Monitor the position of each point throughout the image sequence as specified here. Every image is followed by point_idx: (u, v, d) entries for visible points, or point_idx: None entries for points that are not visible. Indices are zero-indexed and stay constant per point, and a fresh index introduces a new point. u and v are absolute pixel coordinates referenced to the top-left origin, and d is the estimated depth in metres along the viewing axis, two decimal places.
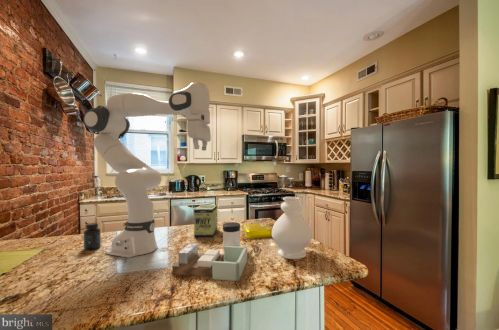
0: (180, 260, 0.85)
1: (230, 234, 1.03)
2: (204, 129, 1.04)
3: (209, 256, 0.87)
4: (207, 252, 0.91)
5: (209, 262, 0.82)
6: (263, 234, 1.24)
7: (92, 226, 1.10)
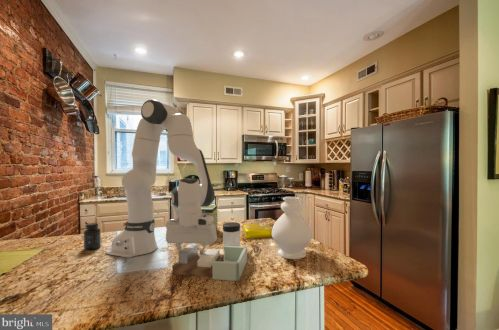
0: (180, 260, 0.85)
1: (230, 234, 1.03)
2: None
3: (209, 256, 0.87)
4: (207, 252, 0.90)
5: (209, 262, 0.82)
6: (262, 234, 1.24)
7: (92, 226, 1.10)
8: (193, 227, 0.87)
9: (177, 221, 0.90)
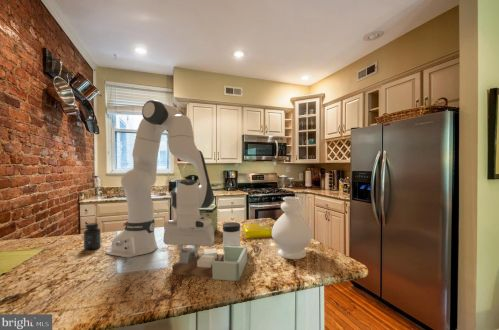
0: (181, 260, 0.85)
1: (230, 234, 1.03)
2: None
3: (209, 256, 0.86)
4: (206, 252, 0.91)
5: (208, 262, 0.82)
6: (262, 234, 1.24)
7: (92, 226, 1.10)
8: (191, 229, 0.87)
9: (175, 222, 0.90)
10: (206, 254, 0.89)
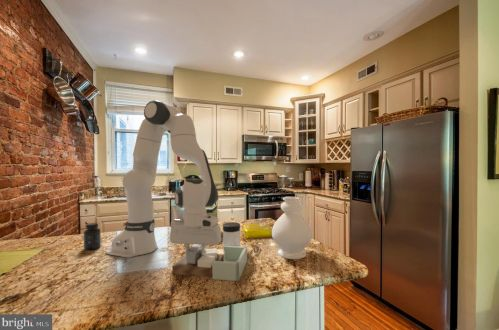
0: (188, 259, 0.84)
1: (230, 234, 1.03)
2: None
3: (209, 256, 0.86)
4: (207, 252, 0.91)
5: (209, 262, 0.82)
6: (261, 234, 1.24)
7: (92, 226, 1.10)
8: (198, 228, 0.86)
9: (181, 221, 0.89)
10: (206, 254, 0.89)
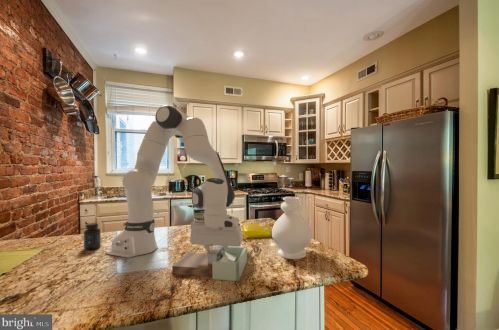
0: (209, 261, 0.83)
1: None
2: None
3: None
4: (225, 255, 0.90)
5: None
6: (261, 234, 1.24)
7: (92, 226, 1.10)
8: (219, 229, 0.85)
9: (202, 222, 0.88)
10: None
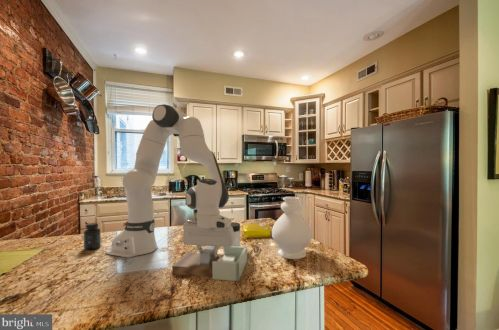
0: (201, 261, 0.84)
1: None
2: None
3: None
4: (224, 258, 0.90)
5: None
6: (260, 234, 1.24)
7: (92, 226, 1.10)
8: (211, 230, 0.86)
9: (194, 222, 0.89)
10: None
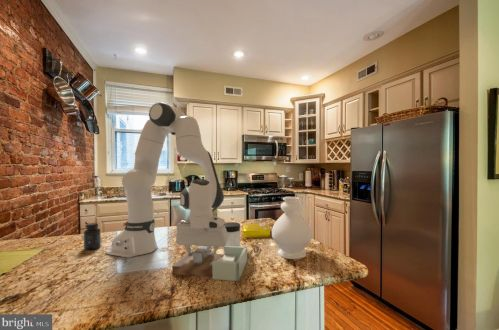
0: (194, 260, 0.85)
1: (230, 234, 1.03)
2: None
3: None
4: (224, 258, 0.90)
5: None
6: (260, 234, 1.25)
7: (92, 226, 1.10)
8: (204, 230, 0.86)
9: (188, 223, 0.89)
10: None
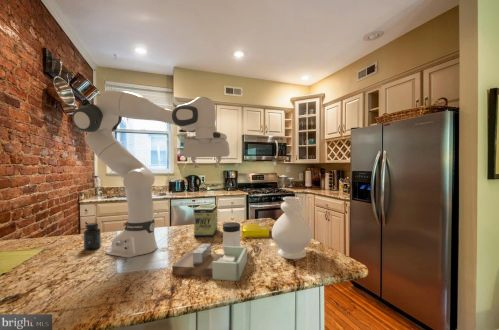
0: (194, 260, 0.85)
1: (230, 234, 1.03)
2: None
3: None
4: (224, 258, 0.90)
5: None
6: (259, 234, 1.25)
7: (92, 226, 1.10)
8: (208, 141, 0.95)
9: (193, 137, 0.98)
10: None
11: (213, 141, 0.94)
